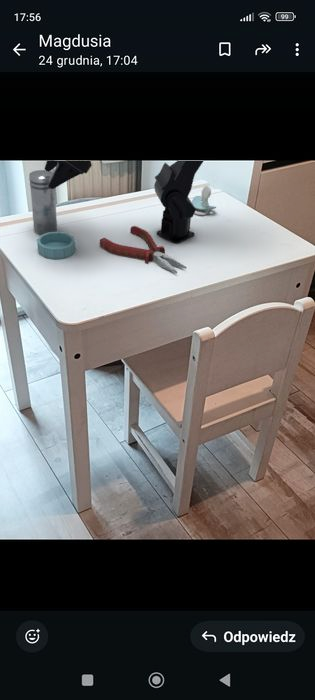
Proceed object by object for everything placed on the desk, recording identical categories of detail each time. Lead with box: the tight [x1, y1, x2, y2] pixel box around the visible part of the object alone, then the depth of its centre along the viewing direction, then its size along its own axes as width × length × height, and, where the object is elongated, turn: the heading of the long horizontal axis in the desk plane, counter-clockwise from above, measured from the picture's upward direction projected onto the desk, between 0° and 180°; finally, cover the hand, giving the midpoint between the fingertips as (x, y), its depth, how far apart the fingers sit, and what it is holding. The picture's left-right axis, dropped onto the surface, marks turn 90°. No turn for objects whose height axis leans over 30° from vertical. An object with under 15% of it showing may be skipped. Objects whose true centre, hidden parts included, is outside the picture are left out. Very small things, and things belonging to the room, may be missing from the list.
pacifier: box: [191, 185, 217, 216], centre depth 141 cm, size 7×6×6 cm
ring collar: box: [36, 231, 76, 260], centre depth 122 cm, size 8×8×2 cm
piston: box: [28, 169, 58, 236], centre depth 125 cm, size 5×5×13 cm
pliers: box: [99, 225, 187, 274], centre depth 122 cm, size 12×20×3 cm, turn 46°
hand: (48, 178), depth 116 cm, fingers open, 9 cm apart
